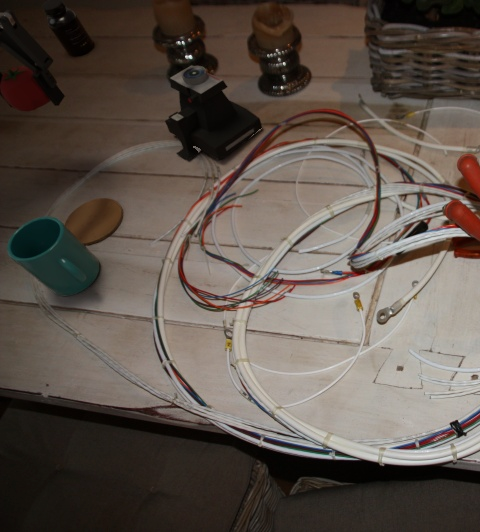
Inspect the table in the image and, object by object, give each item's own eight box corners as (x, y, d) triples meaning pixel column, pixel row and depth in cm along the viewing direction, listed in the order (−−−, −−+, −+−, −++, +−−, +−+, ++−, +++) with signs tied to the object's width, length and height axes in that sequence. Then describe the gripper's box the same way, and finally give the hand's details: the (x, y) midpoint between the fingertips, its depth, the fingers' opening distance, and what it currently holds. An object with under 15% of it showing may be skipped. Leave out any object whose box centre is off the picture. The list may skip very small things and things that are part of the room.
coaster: (55, 244, 101) (53, 242, 101) (80, 199, 107) (78, 197, 107) (110, 245, 100) (108, 243, 99) (131, 200, 106) (130, 198, 105)
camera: (246, 71, 103) (183, 111, 96) (263, 133, 115) (209, 172, 107) (192, 47, 110) (130, 82, 103) (214, 108, 121) (159, 143, 114)
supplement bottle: (62, 52, 138) (31, 7, 128) (83, 37, 141) (55, -7, 131) (78, 59, 135) (47, 14, 125) (99, 45, 138) (71, -1, 128)
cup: (79, 314, 92) (36, 278, 83) (40, 282, 97) (-5, 245, 87) (121, 276, 95) (84, 238, 86) (82, 247, 100) (43, 208, 91)
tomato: (20, 123, 98) (-8, 90, 92) (13, 100, 102) (-15, 67, 96) (64, 104, 100) (38, 71, 94) (54, 83, 104) (30, 49, 98)
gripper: (-135, -2, 82) (-23, 116, 100) (-9, -10, 79) (81, 113, 98) (-106, -29, 86) (-4, 90, 104) (15, -37, 83) (97, 86, 102)
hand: (37, 101), depth 101 cm, fingers closed on tomato, 8 cm apart
